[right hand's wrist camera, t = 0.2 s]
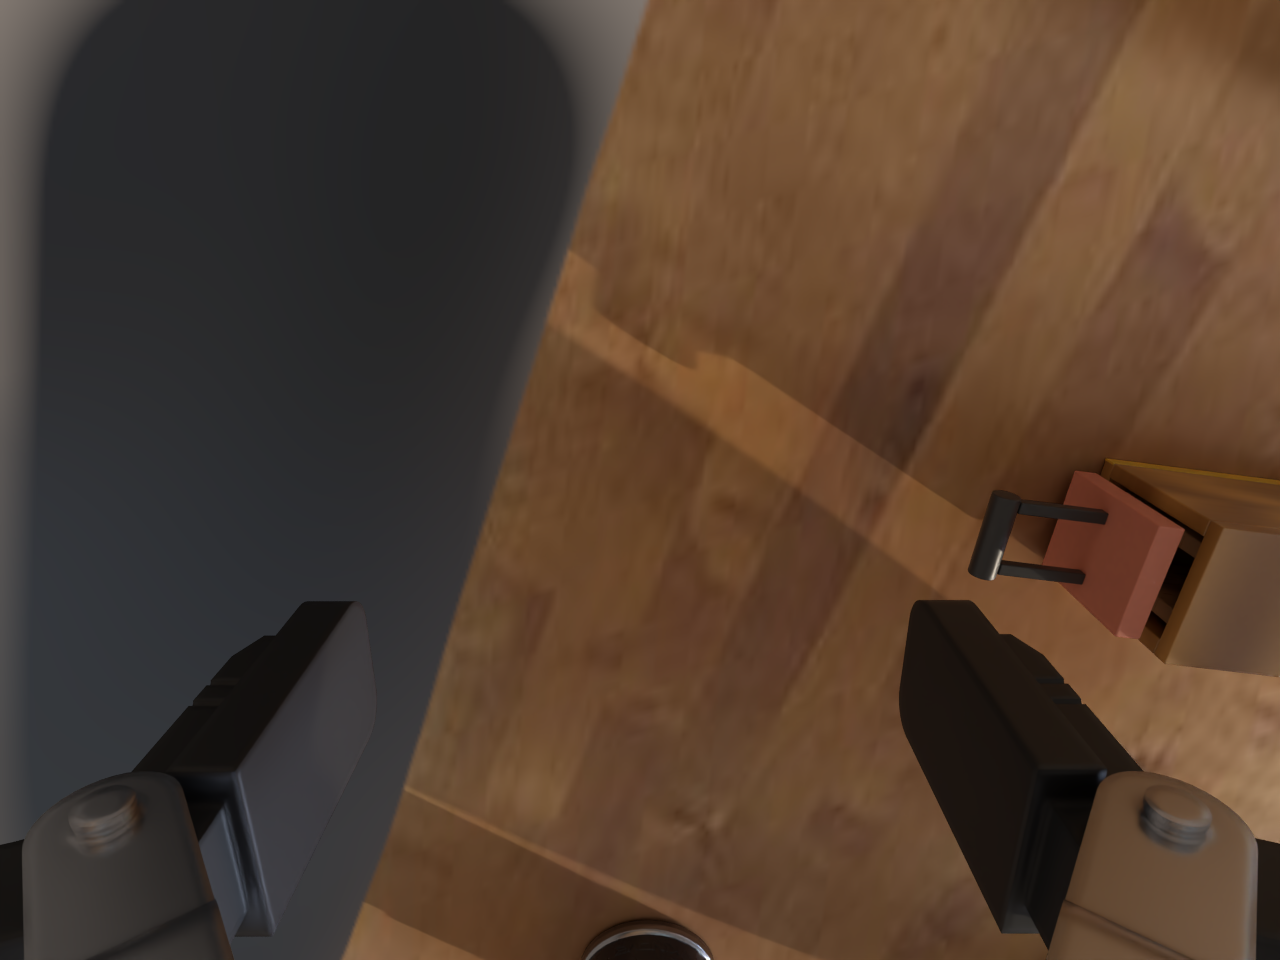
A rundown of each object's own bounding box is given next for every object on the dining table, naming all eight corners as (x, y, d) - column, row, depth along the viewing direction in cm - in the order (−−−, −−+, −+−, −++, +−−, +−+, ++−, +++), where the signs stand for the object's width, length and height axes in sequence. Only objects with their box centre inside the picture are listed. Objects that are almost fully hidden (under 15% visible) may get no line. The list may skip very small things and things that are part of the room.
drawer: (939, 554, 42) (995, 622, 36) (968, 456, 40) (1033, 510, 34) (1389, 608, 43) (1525, 685, 37) (1439, 516, 41) (1591, 579, 35)
